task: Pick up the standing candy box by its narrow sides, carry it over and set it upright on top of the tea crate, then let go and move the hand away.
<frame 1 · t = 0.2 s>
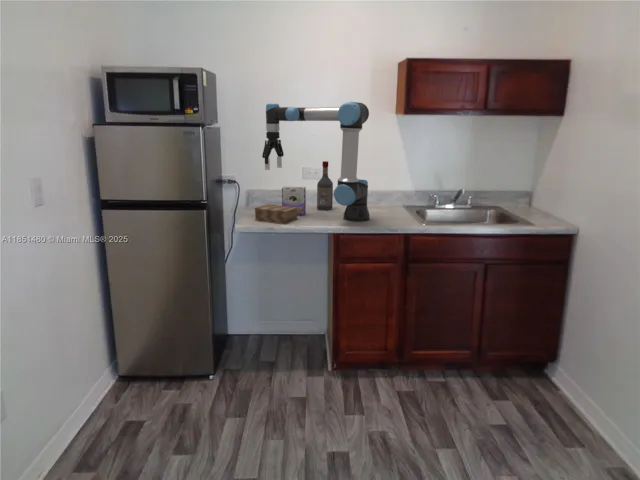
hand: (273, 168, 282), 27 cm above the countertop, tool pointing down, fingers open, 13 cm apart
liquor: (324, 209, 308), on the countertop
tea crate: (276, 220, 274), on the countertop
candy box: (294, 214, 290), on the countertop
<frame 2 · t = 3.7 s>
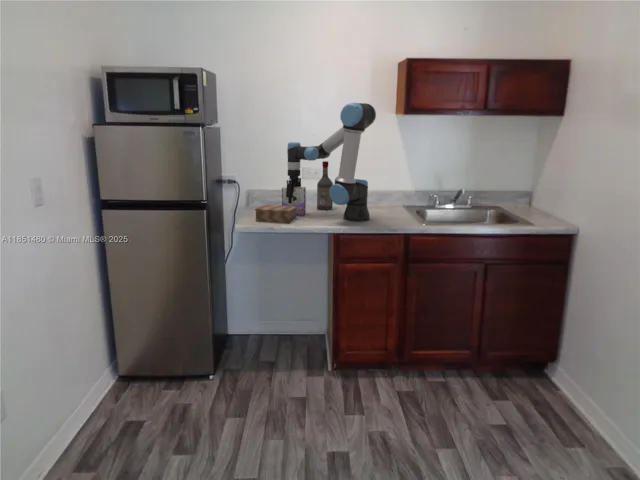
hand: (293, 207, 289), 4 cm above the countertop, tool pointing down, fingers closed on candy box, 7 cm apart
candy box: (294, 214, 290), on the countertop, touching gripper
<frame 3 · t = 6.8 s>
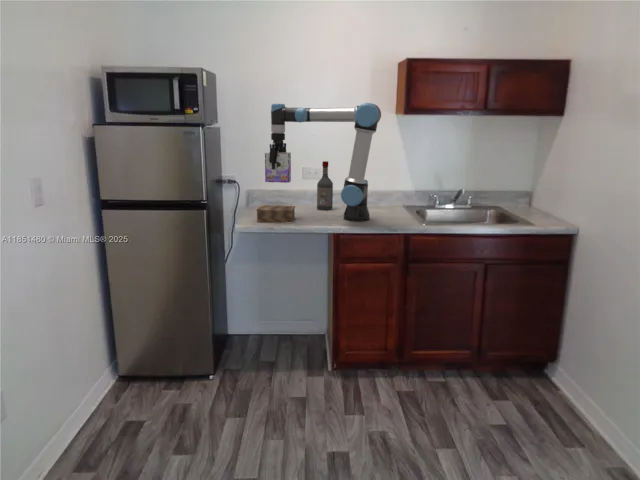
hand: (278, 174, 271), 25 cm above the countertop, tool pointing down, fingers closed on candy box, 7 cm apart
candy box: (278, 182, 272), point 21 cm above the countertop, touching gripper
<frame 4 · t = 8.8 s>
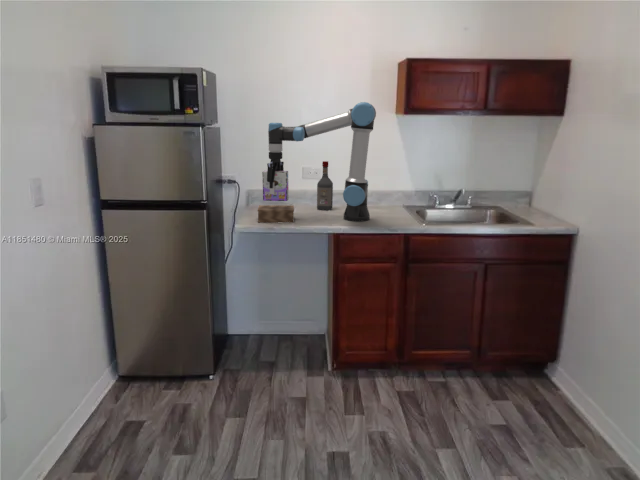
hand: (275, 193, 270), 15 cm above the countertop, tool pointing down, fingers closed on candy box, 7 cm apart
candy box: (275, 200, 272), point 11 cm above the countertop, touching gripper
when the fingers open (13 cm above the countertop, at t = 10.1 s): candy box drops 2 cm, resting on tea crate.
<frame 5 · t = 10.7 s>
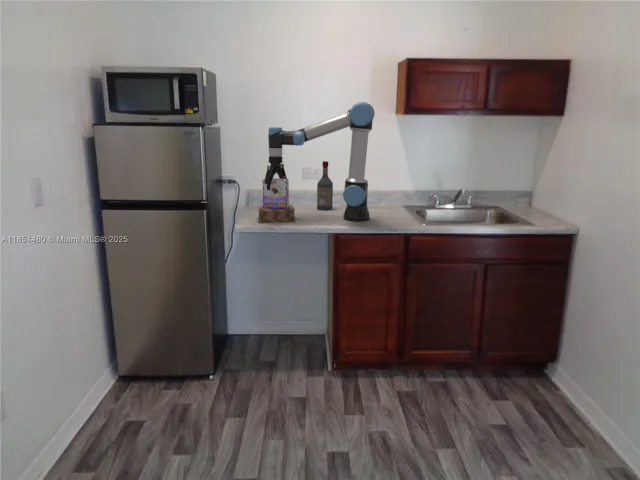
hand: (275, 194, 271), 15 cm above the countertop, tool pointing down, fingers open, 13 cm apart
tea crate: (276, 220, 274), on the countertop, touching candy box
candy box: (276, 208, 273), point 7 cm above the countertop, touching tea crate
everything else where it was.
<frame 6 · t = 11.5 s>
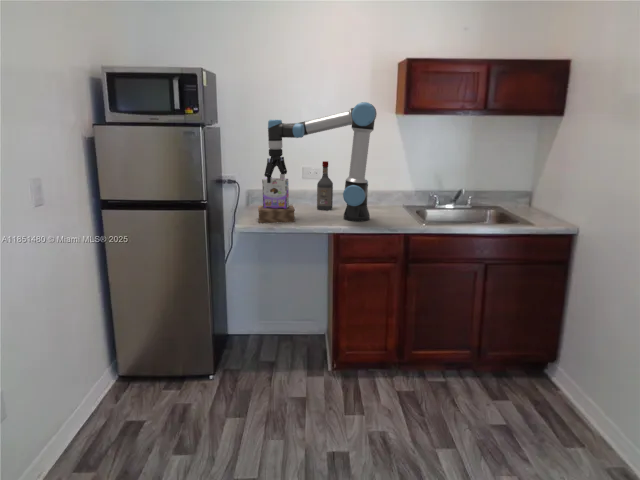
hand: (276, 187, 270), 19 cm above the countertop, tool pointing down, fingers open, 13 cm apart
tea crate: (276, 220, 274), on the countertop
candy box: (276, 208, 273), point 7 cm above the countertop
everything else where it was.
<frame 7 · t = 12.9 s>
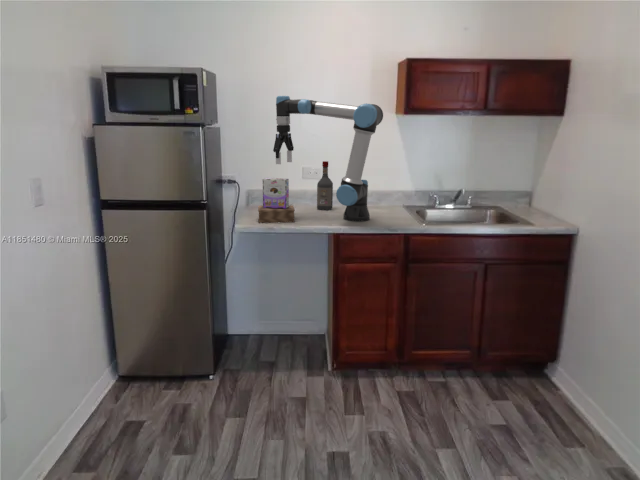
hand: (284, 163, 274), 31 cm above the countertop, tool pointing down, fingers open, 13 cm apart
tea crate: (276, 220, 274), on the countertop, touching candy box
candy box: (275, 208, 273), point 7 cm above the countertop, touching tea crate
everything else where it was.
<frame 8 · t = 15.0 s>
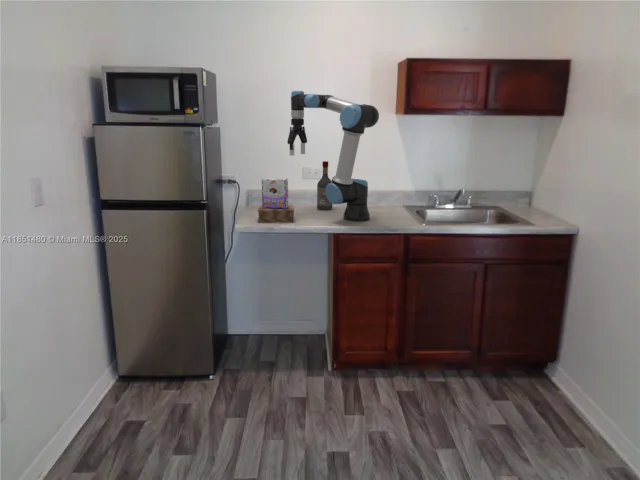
hand: (297, 154, 290), 35 cm above the countertop, tool pointing down, fingers open, 13 cm apart
nothing on the countertop moved.
at the end: candy box inside the target area on the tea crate (0.6 cm from its centre), point 7.2 cm above the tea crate's base; candy box tilted 0°; candy box touching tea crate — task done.
